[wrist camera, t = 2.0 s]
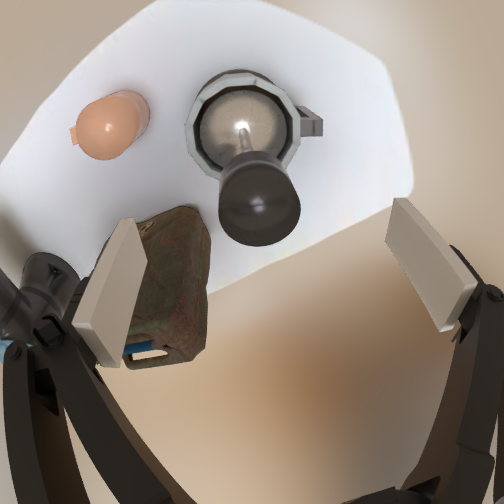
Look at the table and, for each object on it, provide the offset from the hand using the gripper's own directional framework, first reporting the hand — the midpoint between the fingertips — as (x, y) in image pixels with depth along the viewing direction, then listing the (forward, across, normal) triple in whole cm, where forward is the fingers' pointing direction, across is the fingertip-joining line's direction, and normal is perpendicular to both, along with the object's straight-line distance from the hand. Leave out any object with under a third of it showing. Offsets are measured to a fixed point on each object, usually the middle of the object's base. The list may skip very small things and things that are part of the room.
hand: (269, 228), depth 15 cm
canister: (+32, -16, -20) cm, 41 cm away
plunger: (+20, 0, 0) cm, 20 cm away
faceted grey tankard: (+32, +1, 0) cm, 32 cm away
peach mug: (+32, -18, +2) cm, 36 cm away
